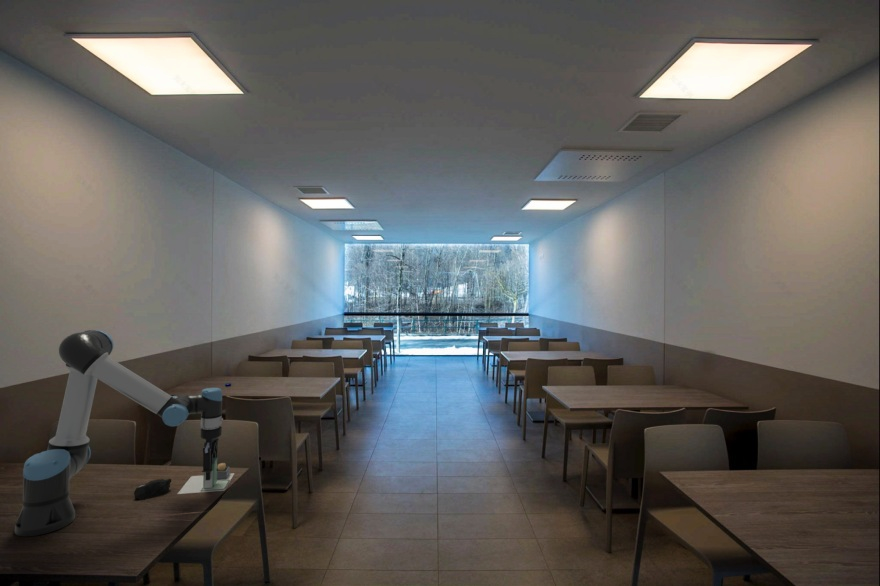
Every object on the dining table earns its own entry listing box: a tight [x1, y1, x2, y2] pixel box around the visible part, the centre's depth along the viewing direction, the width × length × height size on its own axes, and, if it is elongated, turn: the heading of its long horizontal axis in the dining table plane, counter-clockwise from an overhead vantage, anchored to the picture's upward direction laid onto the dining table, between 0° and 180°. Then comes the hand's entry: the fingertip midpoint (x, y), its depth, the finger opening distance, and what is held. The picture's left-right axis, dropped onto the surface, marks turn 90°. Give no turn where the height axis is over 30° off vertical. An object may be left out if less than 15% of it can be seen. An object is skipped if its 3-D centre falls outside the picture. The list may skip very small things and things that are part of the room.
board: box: [177, 472, 235, 495], centre depth 180 cm, size 17×17×1 cm
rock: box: [133, 478, 172, 501], centre depth 169 cm, size 10×9×6 cm
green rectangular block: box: [203, 458, 218, 487], centre depth 176 cm, size 4×4×11 cm
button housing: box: [217, 466, 231, 480], centre depth 186 cm, size 5×5×3 cm
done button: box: [217, 462, 227, 471], centre depth 186 cm, size 3×3×3 cm
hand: (210, 484), depth 176 cm, fingers closed on green rectangular block, 4 cm apart
